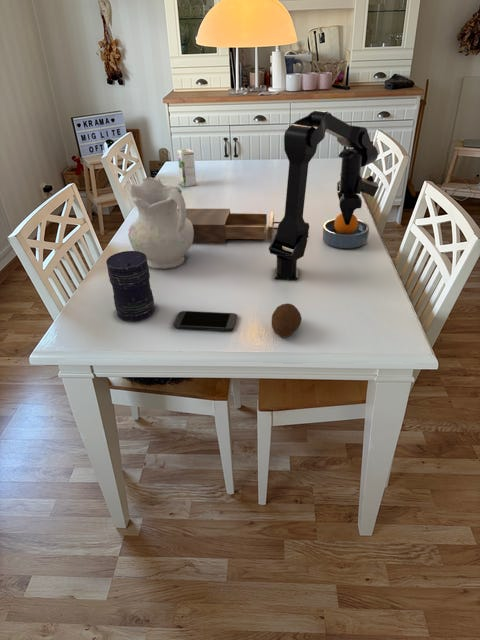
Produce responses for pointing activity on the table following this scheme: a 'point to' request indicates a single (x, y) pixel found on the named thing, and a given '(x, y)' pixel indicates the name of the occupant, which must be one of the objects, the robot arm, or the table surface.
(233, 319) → the smartphone
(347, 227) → the orange
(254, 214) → the drawer
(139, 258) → the storage jar
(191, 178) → the syrup box
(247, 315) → the table surface
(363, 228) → the bowl
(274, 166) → the table surface
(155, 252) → the ceramic pitcher
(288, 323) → the potato
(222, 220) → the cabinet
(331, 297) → the table surface
